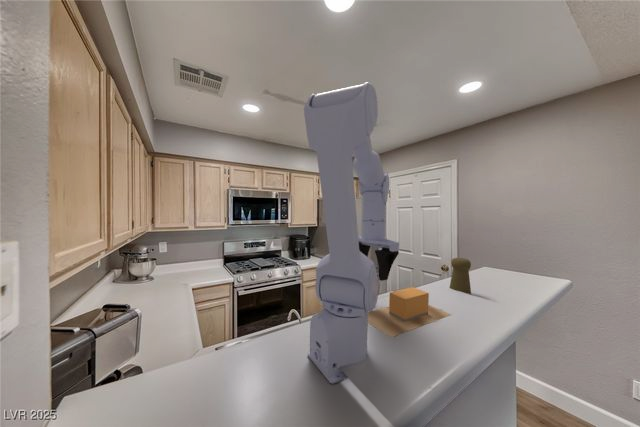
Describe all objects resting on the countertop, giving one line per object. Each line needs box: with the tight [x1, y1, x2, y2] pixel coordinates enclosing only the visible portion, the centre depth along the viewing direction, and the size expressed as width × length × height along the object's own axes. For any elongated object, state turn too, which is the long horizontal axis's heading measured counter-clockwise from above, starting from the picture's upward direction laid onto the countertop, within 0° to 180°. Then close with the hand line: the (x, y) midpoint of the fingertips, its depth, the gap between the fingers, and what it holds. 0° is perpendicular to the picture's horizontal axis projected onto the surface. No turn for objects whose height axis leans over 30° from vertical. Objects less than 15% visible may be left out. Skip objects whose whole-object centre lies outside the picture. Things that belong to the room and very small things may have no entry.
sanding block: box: [388, 286, 430, 322], centre depth 54 cm, size 8×4×5 cm, turn 120°
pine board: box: [368, 304, 452, 338], centre depth 53 cm, size 20×10×2 cm, turn 120°
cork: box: [449, 257, 472, 296], centre depth 72 cm, size 6×6×11 cm
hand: (372, 275), depth 57 cm, fingers open, 7 cm apart
